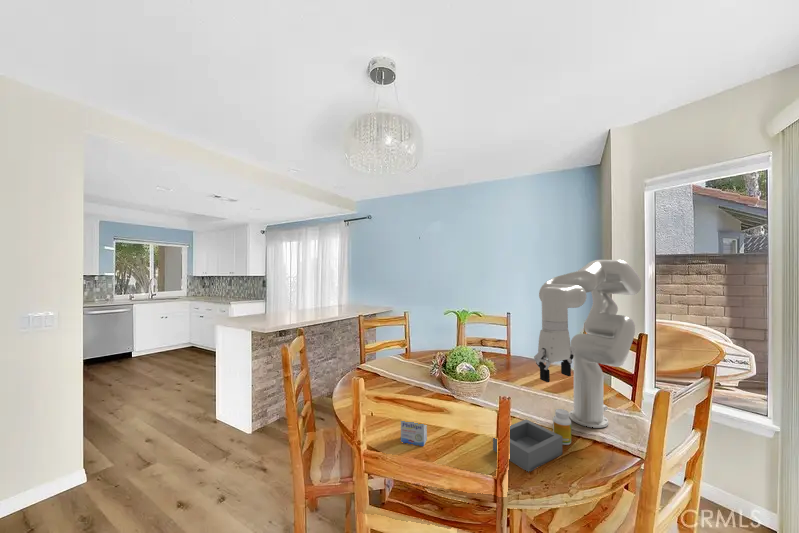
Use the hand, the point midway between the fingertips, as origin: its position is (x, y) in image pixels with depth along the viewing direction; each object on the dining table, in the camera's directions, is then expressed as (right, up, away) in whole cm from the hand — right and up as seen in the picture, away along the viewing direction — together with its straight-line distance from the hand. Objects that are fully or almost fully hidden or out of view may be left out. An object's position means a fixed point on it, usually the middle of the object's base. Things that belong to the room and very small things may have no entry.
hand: (555, 377), depth 107 cm
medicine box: (-46, -22, +2) cm, 51 cm away
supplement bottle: (+3, -21, +2) cm, 22 cm away
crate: (-11, -21, -5) cm, 25 cm away
